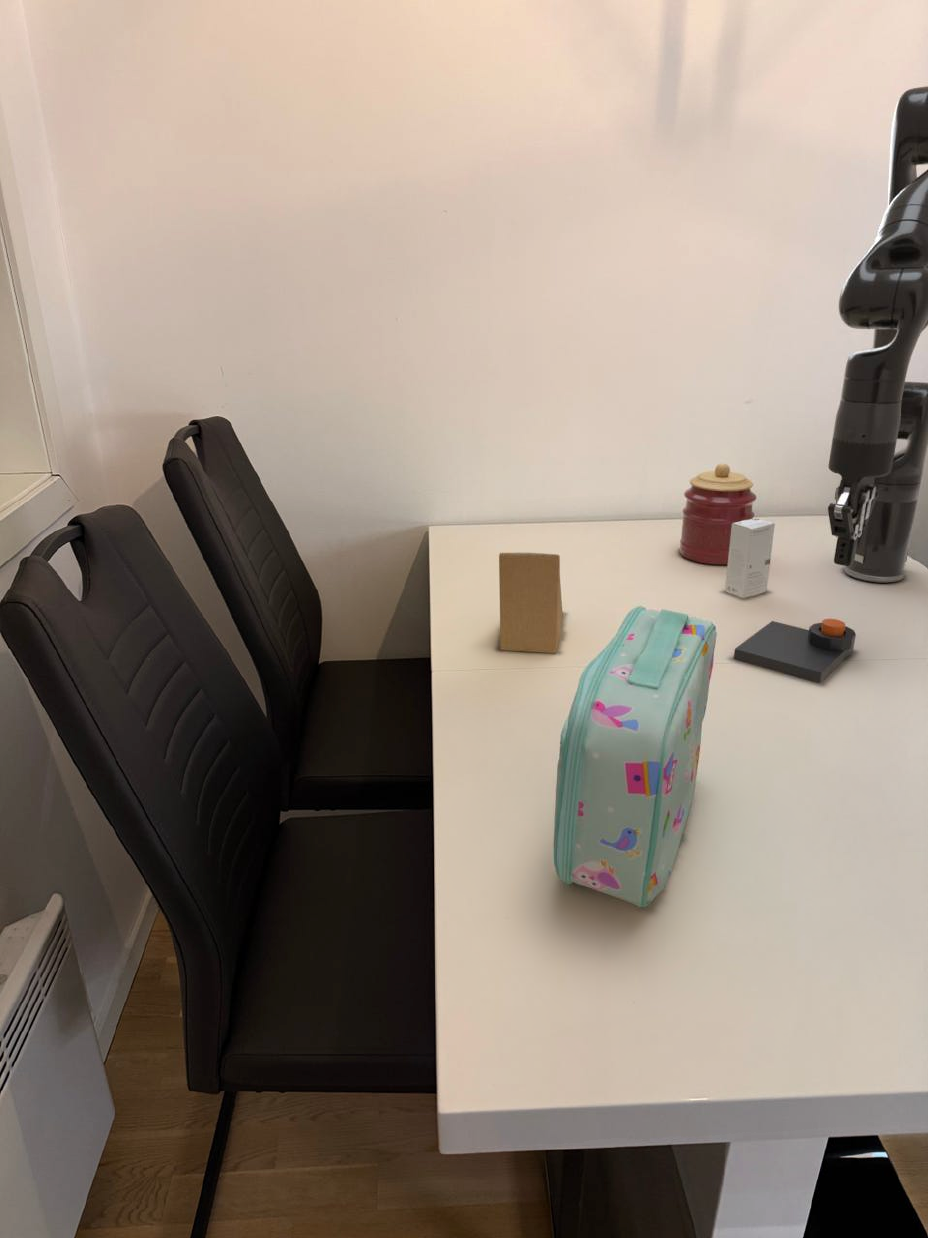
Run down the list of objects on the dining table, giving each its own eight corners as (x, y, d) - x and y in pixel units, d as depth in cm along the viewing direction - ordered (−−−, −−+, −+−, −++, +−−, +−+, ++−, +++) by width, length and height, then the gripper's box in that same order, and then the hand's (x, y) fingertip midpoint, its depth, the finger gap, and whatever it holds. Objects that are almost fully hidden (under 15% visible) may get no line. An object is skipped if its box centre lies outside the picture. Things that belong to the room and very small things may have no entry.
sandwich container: (564, 613, 135) (567, 523, 129) (557, 653, 121) (560, 554, 115) (511, 610, 136) (512, 521, 130) (498, 650, 122) (498, 552, 117)
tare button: (825, 627, 120) (826, 617, 120) (846, 632, 118) (848, 622, 118) (817, 633, 118) (819, 623, 117) (839, 638, 116) (841, 628, 116)
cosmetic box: (744, 599, 139) (752, 529, 134) (722, 591, 143) (730, 522, 138) (768, 591, 142) (777, 522, 138) (746, 584, 146) (754, 516, 141)
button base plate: (771, 630, 127) (774, 608, 126) (857, 651, 120) (861, 629, 118) (733, 659, 118) (736, 637, 117) (823, 685, 110) (827, 661, 109)
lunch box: (612, 752, 96) (622, 576, 88) (704, 770, 92) (724, 588, 84) (540, 904, 73) (545, 686, 65) (659, 936, 69) (680, 709, 61)
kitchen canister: (757, 551, 162) (768, 460, 156) (738, 570, 152) (749, 474, 146) (691, 541, 169) (699, 453, 162) (669, 559, 159) (676, 466, 152)
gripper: (879, 446, 101) (855, 582, 107) (911, 431, 110) (887, 557, 116) (816, 440, 105) (797, 570, 112) (851, 425, 114) (832, 547, 121)
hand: (843, 563), depth 114 cm, fingers closed
